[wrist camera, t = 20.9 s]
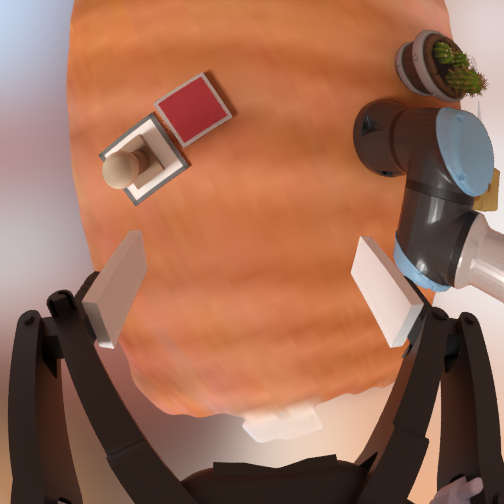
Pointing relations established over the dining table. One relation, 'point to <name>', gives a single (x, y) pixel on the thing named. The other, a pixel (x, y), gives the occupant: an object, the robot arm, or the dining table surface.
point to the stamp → (132, 165)
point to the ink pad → (192, 109)
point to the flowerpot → (437, 68)
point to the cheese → (489, 195)
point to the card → (161, 149)
